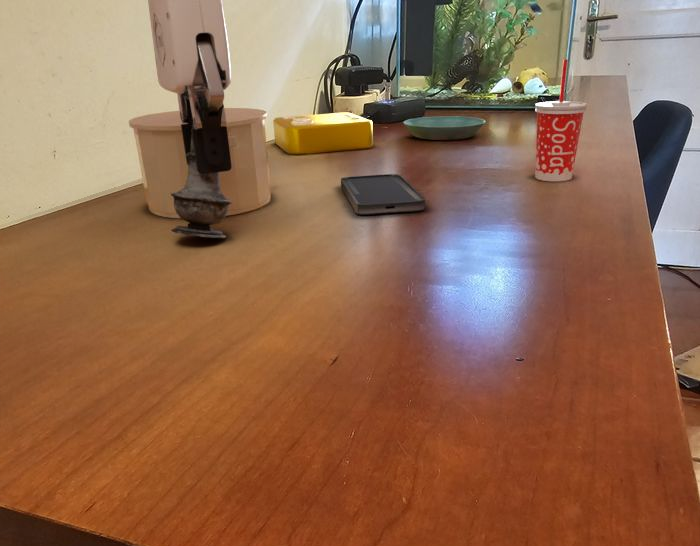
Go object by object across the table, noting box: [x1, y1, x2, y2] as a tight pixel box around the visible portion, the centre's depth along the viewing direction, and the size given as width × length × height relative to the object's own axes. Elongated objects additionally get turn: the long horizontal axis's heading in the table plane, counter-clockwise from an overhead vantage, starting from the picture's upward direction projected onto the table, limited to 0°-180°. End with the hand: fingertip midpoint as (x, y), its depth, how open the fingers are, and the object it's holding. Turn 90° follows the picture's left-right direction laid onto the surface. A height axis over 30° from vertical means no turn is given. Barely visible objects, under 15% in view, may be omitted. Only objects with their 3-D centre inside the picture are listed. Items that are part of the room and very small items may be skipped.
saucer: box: [403, 115, 486, 141], centre depth 116 cm, size 15×15×3 cm
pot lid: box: [128, 99, 268, 131], centre depth 73 cm, size 16×16×6 cm
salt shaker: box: [171, 123, 232, 239], centre depth 62 cm, size 6×6×12 cm
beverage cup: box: [534, 59, 588, 182], centre depth 80 cm, size 6×6×14 cm
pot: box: [132, 119, 272, 220], centre depth 76 cm, size 15×20×10 cm
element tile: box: [272, 112, 374, 156], centre depth 112 cm, size 15×15×5 cm
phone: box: [340, 173, 426, 216], centre depth 76 cm, size 8×1×15 cm
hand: (208, 166), depth 62 cm, fingers closed on salt shaker, 3 cm apart
